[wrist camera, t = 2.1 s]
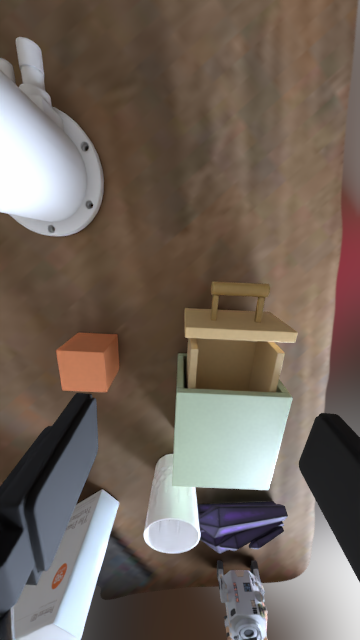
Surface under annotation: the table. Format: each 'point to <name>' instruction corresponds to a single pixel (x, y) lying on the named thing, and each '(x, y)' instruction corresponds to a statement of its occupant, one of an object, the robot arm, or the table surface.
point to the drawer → (235, 343)
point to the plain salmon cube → (88, 362)
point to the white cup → (171, 512)
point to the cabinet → (226, 435)
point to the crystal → (240, 524)
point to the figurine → (243, 603)
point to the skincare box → (68, 576)
